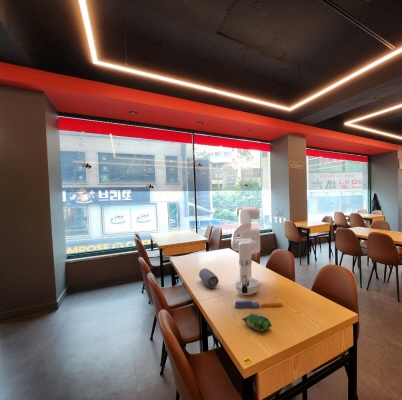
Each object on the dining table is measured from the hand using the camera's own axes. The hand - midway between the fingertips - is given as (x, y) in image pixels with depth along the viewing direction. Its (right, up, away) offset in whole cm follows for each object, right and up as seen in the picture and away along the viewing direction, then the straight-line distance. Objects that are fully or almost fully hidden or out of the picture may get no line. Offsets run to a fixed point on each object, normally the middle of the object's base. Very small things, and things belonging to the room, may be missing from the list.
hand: (245, 289), depth 138 cm
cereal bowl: (-1, -10, +19) cm, 22 cm away
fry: (+16, -10, 0) cm, 19 cm away
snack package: (+9, -11, -22) cm, 26 cm away
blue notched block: (+1, -10, -1) cm, 10 cm away
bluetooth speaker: (-34, -10, +35) cm, 50 cm away
